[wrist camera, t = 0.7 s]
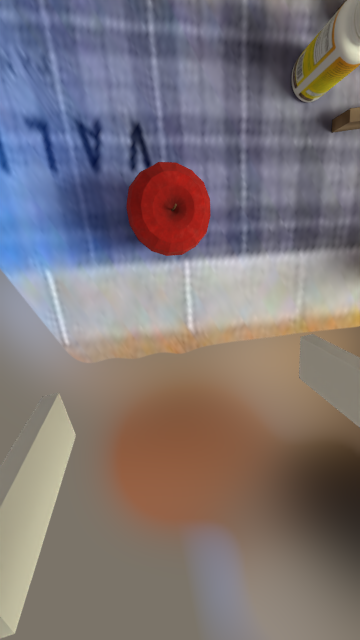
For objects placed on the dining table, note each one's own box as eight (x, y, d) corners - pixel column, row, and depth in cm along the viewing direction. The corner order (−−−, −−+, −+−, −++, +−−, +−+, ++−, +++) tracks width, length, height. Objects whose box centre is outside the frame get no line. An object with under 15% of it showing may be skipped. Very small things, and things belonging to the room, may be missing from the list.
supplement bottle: (332, 86, 32) (416, 17, 22) (300, 114, 32) (370, 58, 23) (315, 41, 30) (400, -56, 20) (282, 71, 30) (349, -10, 21)
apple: (114, 200, 31) (104, 179, 21) (175, 166, 31) (194, 127, 21) (151, 265, 35) (158, 273, 25) (206, 234, 35) (235, 229, 25)
